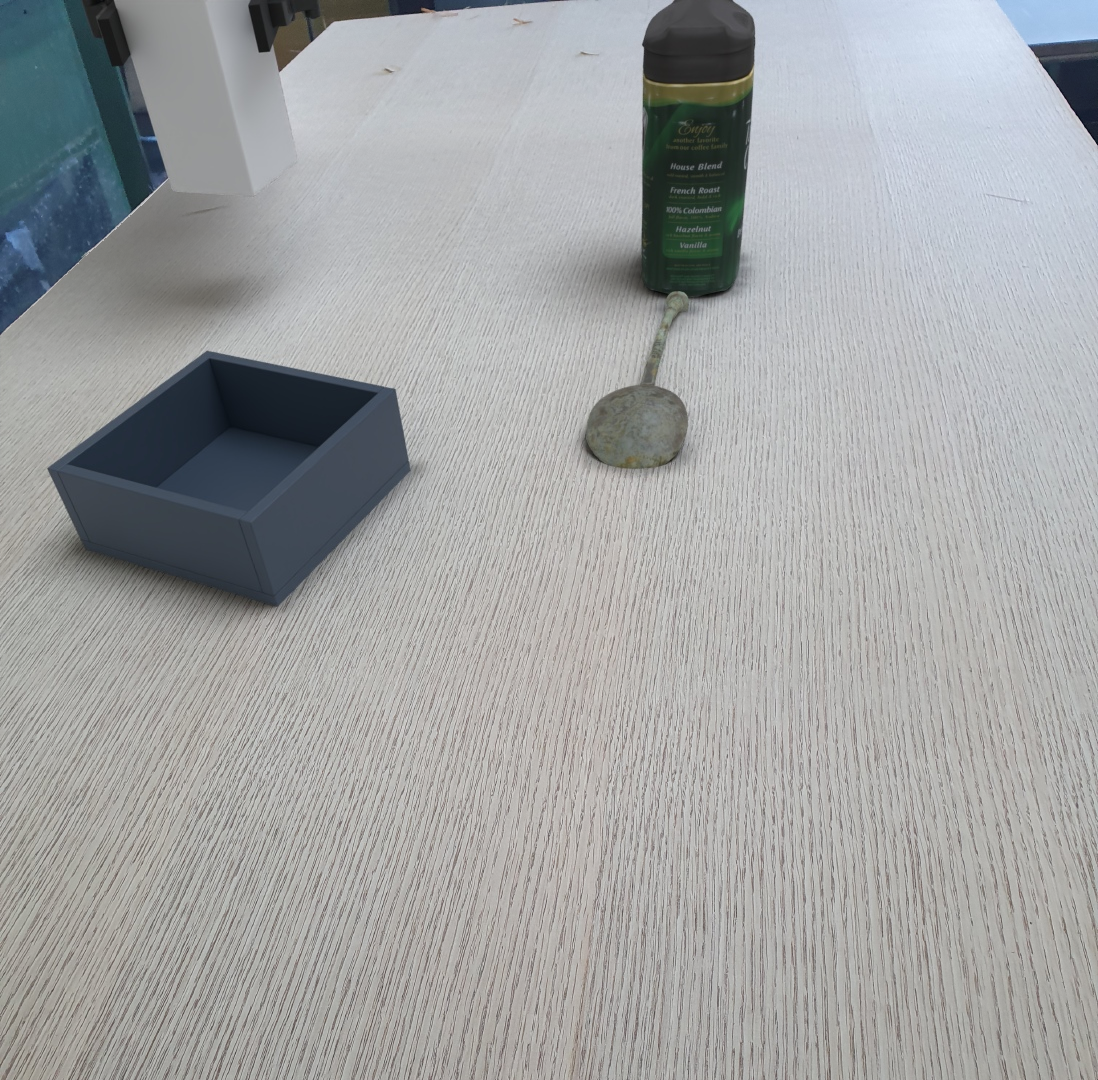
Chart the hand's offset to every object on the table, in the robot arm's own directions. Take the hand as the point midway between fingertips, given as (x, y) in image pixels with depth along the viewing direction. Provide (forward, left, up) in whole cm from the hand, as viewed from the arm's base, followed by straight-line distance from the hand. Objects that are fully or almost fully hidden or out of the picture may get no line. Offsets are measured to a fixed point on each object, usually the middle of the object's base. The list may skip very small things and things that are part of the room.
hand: (184, 35), depth 71 cm
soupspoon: (+33, +2, -20) cm, 39 cm away
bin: (+15, -21, -20) cm, 33 cm away
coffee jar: (+29, +19, -20) cm, 40 cm away
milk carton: (-2, +4, -11) cm, 12 cm away
